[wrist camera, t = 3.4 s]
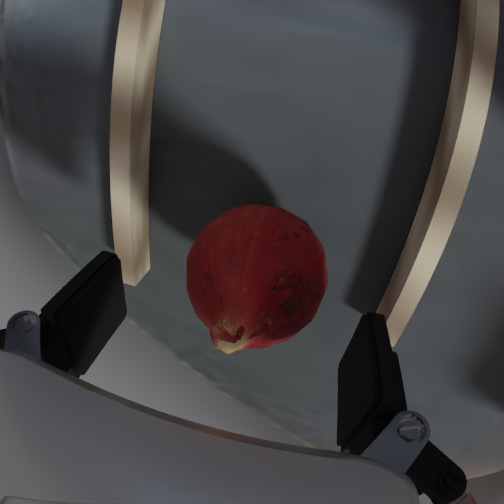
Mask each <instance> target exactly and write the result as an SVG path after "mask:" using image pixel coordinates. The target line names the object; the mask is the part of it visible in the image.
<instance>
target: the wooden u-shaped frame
mask: <svg viewBox="0 0 504 504" xmlns="http://www.w3.org/2000/svg"><path fill="white" fill-rule="evenodd" d="M165 1H166V0H123V3H122V9H121V15H120V21H119V28H118V35H117V42H116V50H115V59H114V69H113V81H112V95H111V115H110V189H111V209H112V224H113V237H114V247H115V254H117V256H118V258H119V259H120V260H121V267H122V277H123V283H126V284H129V285H133V286H136V285H137V284H138V282H139V281H140V280H141V279H142V278H143V276H144V275H145V274H146V273H147V272H148V271H149V269H150V251H149V154H150V132H151V116H152V103H153V91H154V80H155V71H156V62H157V54H158V46H159V39H160V32H161V25H162V19H163V13H164V7H165ZM498 30H499V0H460V14H459V26H458V36H457V45H456V53H455V60H454V66H453V73H452V79H451V84H450V90H449V95H448V100H447V105H446V110H445V114H444V119H443V123H442V127H441V132H440V136H439V140H438V144H437V147H436V151H435V155H434V158H433V162H432V166H431V169H430V172H429V176H428V179H427V182H426V186H425V189H424V192H423V195H422V198H421V201H420V204H419V207H418V210H417V213H416V216H415V219H414V221H413V224H412V227H411V230H410V232H409V235H408V238H407V240H406V243H405V246H404V248H403V251H402V253H401V256H400V258H399V261H398V263H397V266H396V268H395V270H394V273H393V275H392V278H391V280H390V282H389V284H388V287H387V289H386V291H385V293H384V296H383V298H382V300H381V302H380V304H379V307H378V309H377V311H376V313H379V314H383V315H384V316H385V319H386V324H387V328H388V333H389V338H390V343H391V347H394V346H395V344H396V342H397V341H398V339H399V337H400V335H401V334H402V332H403V330H404V328H405V327H406V325H407V323H408V321H409V319H410V318H411V316H412V314H413V312H414V310H415V308H416V306H417V304H418V303H419V301H420V299H421V297H422V295H423V293H424V291H425V289H426V287H427V285H428V283H429V280H430V278H431V276H432V274H433V272H434V270H435V268H436V265H437V263H438V261H439V259H440V257H441V254H442V252H443V250H444V247H445V245H446V243H447V240H448V238H449V235H450V233H451V230H452V228H453V225H454V223H455V220H456V217H457V215H458V212H459V209H460V207H461V204H462V201H463V198H464V195H465V192H466V189H467V186H468V183H469V180H470V177H471V174H472V170H473V167H474V164H475V160H476V157H477V153H478V149H479V145H480V142H481V138H482V134H483V129H484V125H485V121H486V116H487V111H488V106H489V101H490V96H491V90H492V84H493V77H494V70H495V62H496V54H497V43H498Z"/></svg>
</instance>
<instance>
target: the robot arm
mask: <svg viewBox="0 0 504 504" xmlns="http://www.w3.org/2000/svg"><path fill="white" fill-rule="evenodd" d="M41 312H42V313H41V314H40V315H39V316H38V314H37V313H35V312H33V311H29V310H26V311H21V312H18V313H16V314H14V315H13V316H12V317H11V318H10V319H9V321H8V323H7V328H6V329H2V330H0V504H477V503H476V501H475V500H474V498H473V496H472V495H471V493H469V494H468V495H467V493H466V492H465V489H466V485H467V480H466V476H465V474H464V472H463V471H462V469H461V468H460V467H459V466H457V465H456V464H455V463H454V462H453V461H452V460H451V459H449V458H448V457H447V456H446V455H445V454H444V453H443V452H441V451H440V450H439V449H438V448H437V447H436V446H435V445H433V444H432V443H431V442H430V441H429V437H430V426H429V424H428V422H427V420H426V419H425V418H424V417H423V416H422V415H421V414H419V413H417V412H414V411H407V405H406V399H405V393H404V387H403V381H402V376H401V370H400V365H399V360H398V356H397V353H396V352H393V351H392V348H391V343H390V338H389V333H388V328H387V324H386V319H385V316H384V315H383V314H379V313H374V312H369V313H368V314H367V315H363V316H362V317H361V319H360V322H359V324H358V326H357V328H356V330H355V332H354V335H353V337H352V339H351V341H350V343H349V345H348V347H347V349H346V351H345V353H344V355H343V357H342V359H341V361H340V363H339V367H338V418H337V445H338V446H341V452H335V451H329V450H322V449H315V448H308V447H302V446H296V445H290V444H285V443H279V442H273V441H268V440H263V439H258V438H254V437H249V436H244V435H240V434H236V433H232V432H228V431H224V430H220V429H216V428H213V427H209V426H205V425H202V424H198V423H195V422H191V421H188V420H185V419H182V418H178V417H175V416H172V415H169V414H166V413H163V412H160V411H157V410H155V409H151V408H149V407H146V406H143V405H140V404H138V403H135V402H133V401H130V400H127V399H125V398H122V397H120V396H117V395H115V394H113V393H110V392H108V391H106V390H103V389H101V388H99V387H96V386H94V385H92V384H90V383H88V382H85V381H83V380H81V379H79V377H80V375H84V374H85V373H86V372H87V370H88V369H89V367H90V366H91V364H92V363H93V362H94V360H95V359H96V357H97V356H98V355H99V353H100V352H101V350H102V349H103V347H104V346H105V345H106V343H107V342H108V340H109V339H110V338H111V336H112V335H113V333H114V332H115V331H116V329H117V328H118V327H119V325H120V324H121V323H122V321H123V320H124V318H125V316H126V313H127V309H126V301H125V294H124V286H123V277H122V267H121V260H120V259H119V258H118V256H117V254H115V253H111V252H108V251H102V252H101V253H99V254H98V255H97V256H96V257H95V258H94V259H93V260H92V261H91V262H89V263H88V264H87V265H86V266H85V267H84V268H83V269H82V270H81V271H80V272H79V273H78V274H76V275H75V276H74V277H73V278H72V279H71V280H70V281H69V282H68V283H67V284H66V285H65V286H64V287H63V288H62V289H61V290H60V291H59V292H58V293H57V294H56V295H55V296H54V297H53V298H52V299H51V300H50V301H49V302H48V303H47V304H46V305H45V306H44V307H43V308H42V309H41Z"/></svg>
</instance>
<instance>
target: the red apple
mask: <svg viewBox="0 0 504 504" xmlns="http://www.w3.org/2000/svg"><path fill="white" fill-rule="evenodd" d="M327 283H328V275H327V266H326V258H325V252H324V248H323V245H322V243H321V242H320V240H319V239H318V238H317V236H316V235H315V233H314V232H313V231H312V229H311V228H310V226H309V225H308V224H307V222H306V221H304V220H302V219H300V218H298V217H297V216H295V215H293V214H291V213H290V212H288V211H286V210H284V209H282V208H278V207H272V206H267V205H262V204H250V205H245V206H239V207H234V208H230V209H229V210H227V211H226V212H224V213H223V214H221V215H220V216H218V217H217V218H215V219H214V220H212V221H211V222H210V223H208V224H207V225H205V226H204V227H203V228H202V229H201V231H200V233H199V235H198V236H197V238H196V240H195V242H194V244H193V245H192V247H191V249H190V252H189V254H188V257H187V292H188V295H189V298H190V301H191V303H192V306H193V308H194V310H195V313H196V315H197V316H198V318H199V319H200V320H201V321H202V322H203V323H204V324H205V325H206V326H207V327H208V328H209V329H210V335H211V339H212V342H213V344H214V347H215V348H217V349H220V350H222V351H223V352H225V353H226V354H229V353H232V352H234V351H236V350H241V349H243V348H257V349H261V348H266V347H268V346H271V345H274V344H277V343H280V342H283V341H287V340H289V339H290V338H291V337H293V336H294V335H295V334H296V333H298V332H299V331H300V330H301V329H303V328H304V327H305V326H306V325H308V324H309V323H310V322H311V320H312V319H313V317H314V316H315V314H316V312H317V310H318V308H319V305H320V303H321V300H322V298H323V296H324V293H325V290H326V287H327Z"/></svg>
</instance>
